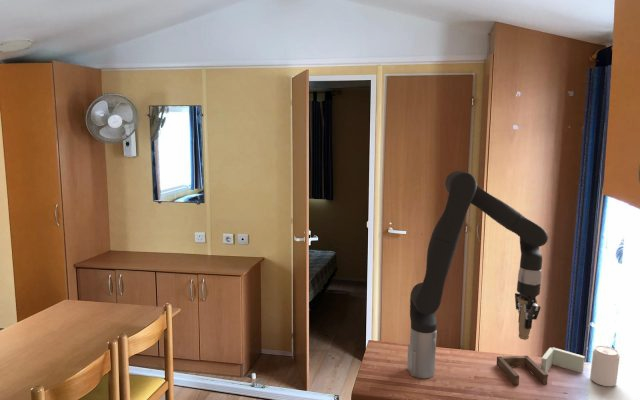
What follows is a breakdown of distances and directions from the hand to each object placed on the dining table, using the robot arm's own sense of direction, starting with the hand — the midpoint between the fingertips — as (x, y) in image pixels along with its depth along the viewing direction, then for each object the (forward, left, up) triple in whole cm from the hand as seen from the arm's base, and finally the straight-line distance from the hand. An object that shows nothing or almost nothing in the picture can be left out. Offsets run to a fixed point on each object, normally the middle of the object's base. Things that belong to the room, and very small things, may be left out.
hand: (524, 325), depth 174 cm
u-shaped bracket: (0, 0, -19) cm, 19 cm away
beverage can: (+27, -7, -19) cm, 34 cm away
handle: (0, 0, -5) cm, 5 cm away
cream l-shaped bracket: (+16, +4, -19) cm, 25 cm away
